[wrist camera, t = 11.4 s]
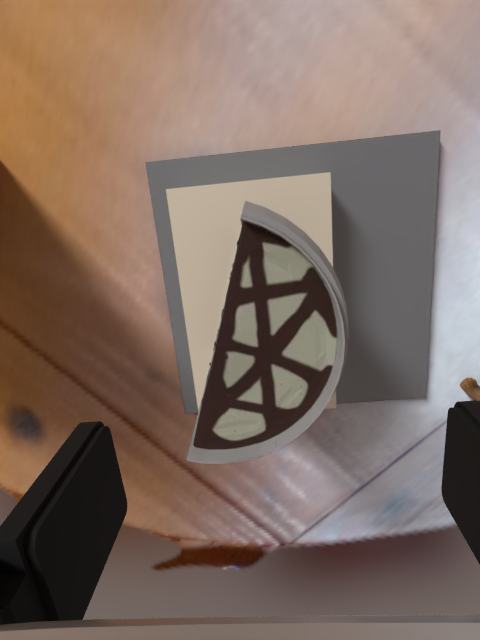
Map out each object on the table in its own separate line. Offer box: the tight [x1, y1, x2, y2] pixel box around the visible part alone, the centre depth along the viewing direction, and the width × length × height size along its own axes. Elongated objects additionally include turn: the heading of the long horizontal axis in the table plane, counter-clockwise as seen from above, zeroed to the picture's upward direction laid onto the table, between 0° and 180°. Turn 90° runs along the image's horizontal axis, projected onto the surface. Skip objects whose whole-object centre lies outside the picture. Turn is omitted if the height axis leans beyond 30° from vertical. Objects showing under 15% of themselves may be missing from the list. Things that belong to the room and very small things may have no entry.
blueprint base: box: [145, 131, 440, 414], centre depth 28 cm, size 20×20×5 cm
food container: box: [186, 201, 349, 464], centre depth 21 cm, size 12×6×10 cm, turn 167°
